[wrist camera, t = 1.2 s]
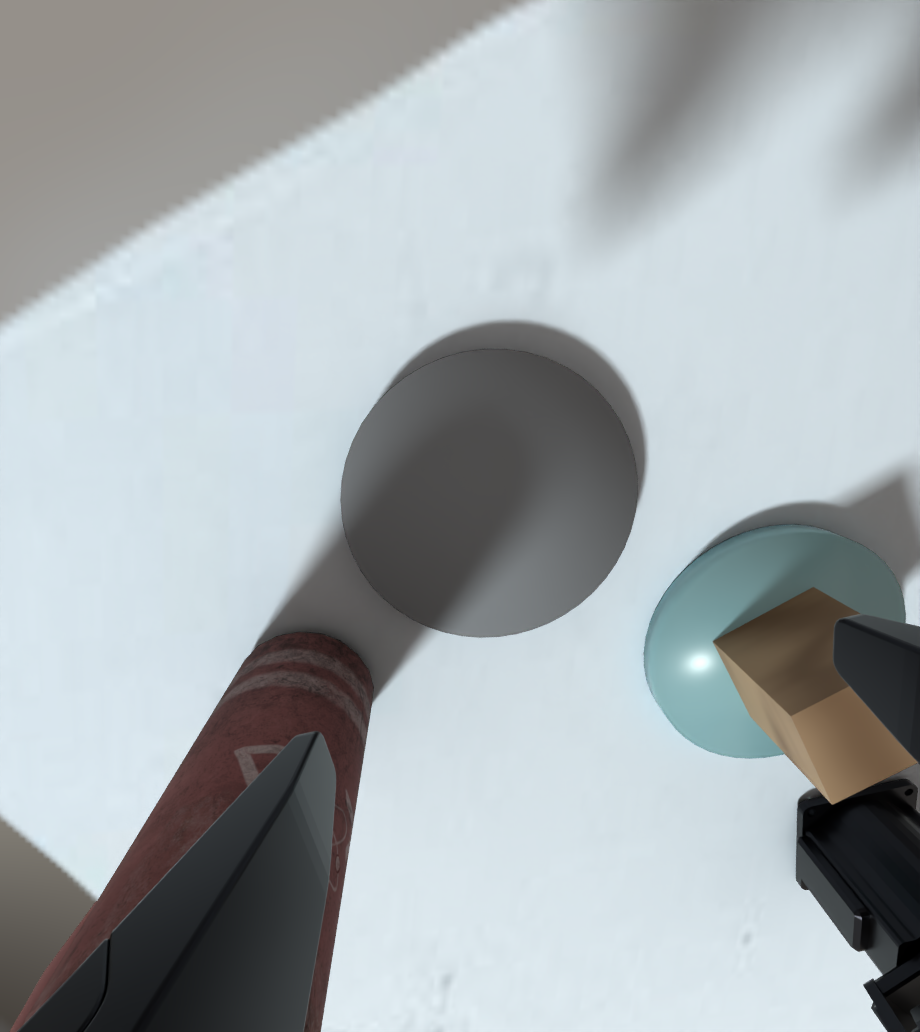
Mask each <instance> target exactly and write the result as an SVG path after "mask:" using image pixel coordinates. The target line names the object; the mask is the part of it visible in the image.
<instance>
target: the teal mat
mask: <svg viewBox="0 0 920 1032" xmlns="http://www.w3.org/2000/svg"><path fill="white" fill-rule="evenodd" d="M812 587H815V588H816V589H818V590H820V591H822V592H823V593H825V594H827V595H829V596H830V597H832V598H834V599H836V600H837V601H839V602H841V603H843V604H845V605H846V606H848V607H850V608H852V609H853V610H855V611H857V612H859V613H860V614H866V615H871V616H875V617H880V618H884V619H889V620H893V621H897V622H902V623H905V620H906V612H905V605H904V598H903V595H902V592H901V589H900V586H899V584H898V582H897V580H896V578H895V576H894V574H893V573H892V571H891V570H890V569H889V567H888V566H887V565H886V563H885V562H884V561H883V560H882V559H881V558H879V557H878V556H877V555H876V554H875V553H874V552H872V551H871V550H869V549H868V548H866V547H865V546H863V545H861V544H859V543H856V542H854V541H852V540H849V539H847V538H845V537H842V536H840V535H837V534H835V533H832V532H830V531H828V530H824V529H820V528H817V527H813V526H805V525H796V524H794V525H775V526H768V527H762V528H758V529H755V530H751V531H747V532H744V533H742V534H739V535H737V536H734V537H732V538H730V539H728V540H726V541H724V542H722V543H720V544H718V545H716V546H715V547H713V548H711V549H710V550H709V551H707V552H706V553H704V554H703V555H701V556H700V557H698V558H697V559H696V560H695V561H694V562H693V563H692V564H690V565H689V566H688V567H687V568H686V569H685V570H684V571H683V572H682V573H681V574H680V575H679V576H678V577H677V578H676V579H675V581H674V582H673V583H672V584H671V586H670V587H669V588H668V590H667V591H666V592H665V594H664V595H663V597H662V599H661V601H660V602H659V604H658V606H657V608H656V609H655V612H654V614H653V617H652V619H651V621H650V624H649V627H648V631H647V635H646V639H645V647H644V669H645V674H646V680H647V683H648V685H649V688H650V691H651V693H652V695H653V697H654V699H655V701H656V702H657V704H658V705H659V707H660V708H661V710H662V711H663V713H664V714H665V715H666V717H667V718H668V720H669V721H670V722H671V724H672V725H673V726H674V727H675V729H676V730H677V731H678V732H679V733H681V734H682V735H683V736H684V737H685V738H686V739H688V740H689V741H691V742H692V743H694V744H695V745H697V746H699V747H701V748H703V749H705V750H707V751H710V752H713V753H716V754H719V755H723V756H729V757H734V758H766V757H772V756H778V755H782V754H784V752H783V751H782V750H781V749H780V748H779V747H778V746H777V745H776V744H775V743H774V742H773V741H772V739H771V738H770V737H769V736H768V735H767V734H766V733H765V732H764V731H763V730H762V729H761V728H760V727H759V725H758V724H757V723H756V722H755V721H754V720H753V719H752V718H751V717H750V715H749V713H748V711H747V709H746V707H745V705H744V703H743V701H742V699H741V697H740V695H739V693H738V691H737V689H736V687H735V685H734V683H733V681H732V679H731V677H730V675H729V673H728V671H727V669H726V667H725V665H724V663H723V661H722V659H721V657H720V655H719V653H718V651H717V649H716V647H715V646H714V644H713V642H712V641H714V640H716V639H718V638H720V637H721V636H723V635H725V634H727V633H729V632H731V631H732V630H734V629H736V628H738V627H740V626H742V625H744V624H745V623H747V622H749V621H751V620H753V619H755V618H757V617H758V616H760V615H762V614H764V613H766V612H768V611H770V610H771V609H773V608H775V607H777V606H779V605H781V604H782V603H784V602H786V601H788V600H790V599H792V598H794V597H795V596H797V595H799V594H801V593H803V592H805V591H807V590H808V589H810V588H812Z"/></svg>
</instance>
